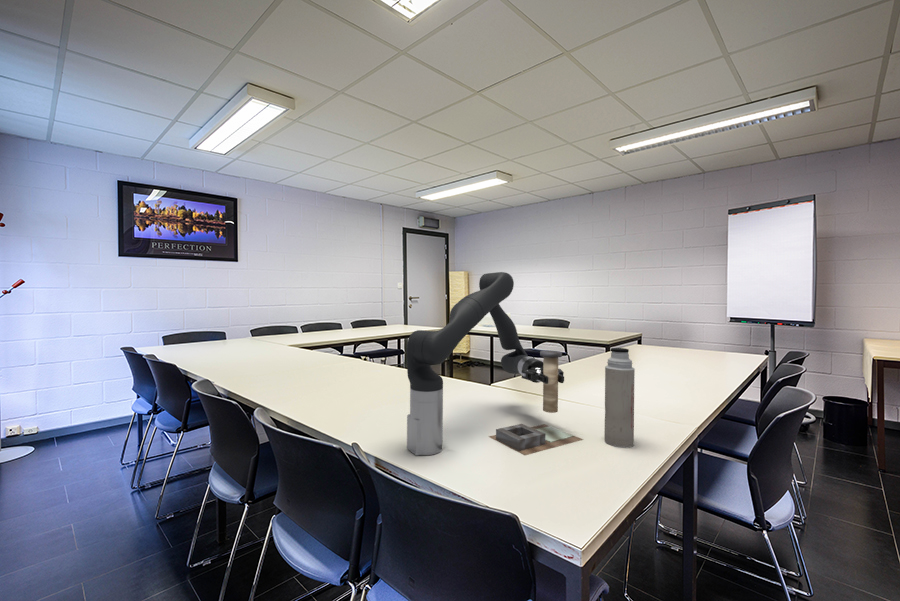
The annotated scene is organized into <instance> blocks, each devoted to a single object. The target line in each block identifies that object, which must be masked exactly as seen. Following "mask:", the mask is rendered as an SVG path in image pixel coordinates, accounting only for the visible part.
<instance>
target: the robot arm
mask: <svg viewBox="0 0 900 601" xmlns="http://www.w3.org/2000/svg"><path fill="white" fill-rule="evenodd" d="M514 282H515V281H514V279H513V277H512V275H511V274H510V273H507V272H505V271H504V272H503V271H499V272H498V271H497V272H489V273H488V272H487V273H483V274H482V275H481V276H480V278H479V282H478V283H479V284H478V285H479V286H478V287H479V290H477V291H474V292H472V293H470V294H468V295H466V296H464V297H462V298H461V299H460V300H458V302H457V303H455V304H454V305H453V306H452V307H451V310H450V312H449V321H448V323H447V324H446V325H445V326H444V327H443V328H440V329H439V330H420V329H419V330H418V329H417V330H414V331H413V332H412V333H411V334H410V335H409V337H408V339H407V343H406V364H407V365H406V367H407V369H406V370H407V371H406V372H407V378H408V381H409V390H410V391H409V414H407V415H406V449H407V450H408V451H410V452H411V453H412V454H413V455H415V456H430V455H436V454H439V453H440V452H442V451H443V443H444V441H443V439H444V438H443V433H444V432H443V428H444V426H443V425H444V421H443V420H444V418H443V417H444V380H443V377H442V376H441V375H439V374H438V373H436V371H434V369H433V368H432V366H431V365H433V366H436V365H440V364H443V363H444V362H445V361H447V359H448V358H449V357H450V355H451V354H452V353H453V351H454V350H455V349H456V347H457V346H458V345H459V344H460V343H461V341H462V340H463V339H464V338H465V337H466V336H467V335H468V333H469V332H470V331H472V330H473V329H474V328H475V327H476V326H477V325H478V324H479V323H480V322H481V321H482V320H483V318H484V317H486V316H487V315H488V314H490V316H491V319H492V321H493V322H494V325H495V327H496V331H497V335H498V339H499V342H500V346H501V348H502V349H503V350H505V351H511V352H509V353H506V354H504V355H502V357H501V358H500V365H501V367H502V369H503V370H504V371H505V372H507V373H508V374H512V375H513V374H514V375H521V379H525V380H527V381H530V382H532V383H536V384H538V383H542V384H543V383H545V384H548V376H546V375H544V374H543V361H542V360H540V359H538V358H536V357H532V356H528V354H527V352H526V351H525V349H524V348H523V345H522V343H521V341H520V339H519V335H518V331H517V327H516V324H515V323H514V321H513V320H512V319H511V317H510V316H509V315H508V314H507V312H505V310H504V309H503V308H502V307H501V305H500V303H501V302H503V301H505V300H506V299H507V298H509V296H510V295H511V294H512V292H513V290H514V287H515V286H514V285H515V284H514ZM564 374H565V373H564V371H563V369H561V368H558V384H564V382H565V376H564Z"/></svg>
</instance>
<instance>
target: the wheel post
mask: <svg viewBox="0 0 900 601" xmlns="http://www.w3.org/2000/svg"><path fill="white" fill-rule="evenodd" d="M539 355H540V357H542V358H543V361H542V362H543V374H544V375H546V376H548V384H545V383H543V382H542V384H543V385H542V386H543V387H542V411H543V412H544V413H549V414H552V413H553V414H555V413H558V412H559V382H558V369H559V358H562V357H563V356H562V355H563V352H562V351H560V350H559V351H558V350H548V349H547V350H540V352H539Z"/></svg>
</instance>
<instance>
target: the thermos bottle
mask: <svg viewBox="0 0 900 601" xmlns="http://www.w3.org/2000/svg"><path fill="white" fill-rule="evenodd" d="M629 352H630V349H628V348H622V347H612V348H610V357H609V358H608V359H607V362H606V363H607V365H605V366H604V372H605V373H604V437H603V438H604V442H605V443H606V444H607V445H610V446H613V447H618V448H632V447H633V446H634V442H635V441H634V440H635V439H634V438H635V434H634V433H635V432H634V431H635V374H636V373H635V370H636V369H635V368H634V367H633V360H632V359H630V355H629V354H630V353H629Z"/></svg>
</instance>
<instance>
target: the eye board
mask: <svg viewBox="0 0 900 601" xmlns="http://www.w3.org/2000/svg"><path fill="white" fill-rule="evenodd" d="M488 438H490V439H492V440H494V441H495V442H497V443H500V444H501V445H504V446H505V447H508V448H509V449H512V450H514V451H515V452H517V453H519V454H520V455H523V456H528V455H532V454H537V453H540V452H543V451H547V450H551V449H554V448H558V447H561V446H564V445H565V446H566V445H569V444H572V443H573V444H574V443H576V442H579V441H583V440H584V438H581V437H578V436H576V435H574V434H571V433H569V432H567V431H564V430H562V429H558V428H556V427H553V426H551V425H548V424H545V423H543V424H540V425H539V424H538V425H533V426H528V425H526V424H524V423H519V424H518V423H517V424H515V425H511V426H509V425H508V426H504V427H499V428H496V429H495V434H493V435H488Z"/></svg>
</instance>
